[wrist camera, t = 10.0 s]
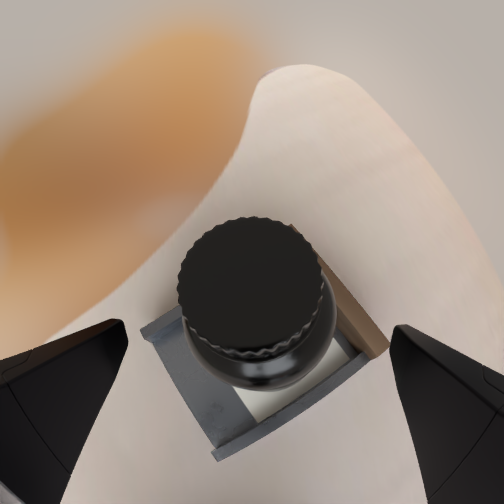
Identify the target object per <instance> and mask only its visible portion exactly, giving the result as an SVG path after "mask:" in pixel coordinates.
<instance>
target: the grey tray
mask: <svg viewBox="0 0 504 504" xmlns="http://www.w3.org/2000/svg"><path fill="white" fill-rule="evenodd" d="M289 226H291V227H292V228H293V229H294V230H295V232H298V231H297V229H296V228H295V227H294V226H293V225H292V224H290V225H289ZM298 233H299V232H298ZM312 250H313V251H314V252H315V253H316V251H315V250H314V249H313V248H312ZM316 254H317V253H316ZM317 255H318V254H317ZM318 263H319V264H320V266H321V267H322V271H323V272H324V274H325V275H326V277H327V278H328V280H329V282H330V284H331V287H332V289H333V292H334V296H335V300H336V306H337V322H336V328H335V332H334V336H333V339H332V341H331V344H330V346H329V348H328V350H327V352H326V353H325V355H324V357H323V358H322V359H321V361H320V362H319V363H318V364H317V366H316V367H315V368H314V369H313V370H312V371H311V372H309V373H308V374H307V375H306V376H305V377H304V378H303V379H302V380H300V381H299V382H298V383H296V384H295V385H293V386H291V387H289V388H286V389H284V390H280V391H275V392H258V391H251V390H245V389H241V388H237V387H234V386H231V385H228V384H226V383H224V382H222V381H220V380H218V379H217V378H215V377H214V376H212V375H211V374H210V373H208V372H207V371H206V370H205V369H204V368H203V367H202V366H201V365H200V364H199V363H198V361H197V360H196V359H195V357H194V356H193V354H192V352H191V351H190V349H189V347H188V344H187V342H186V339H185V335H184V331H183V325H182V307H181V306H180V305H179V306H177V307H175V308H174V309H172V310H171V311H169V312H167V313H166V314H164V315H163V316H161V317H159V318H158V319H156V320H155V321H153V322H151V323H150V324H148V325H147V326H145V327H143V328H142V329H140V332H141V334H142V336H143V338H144V339H145V340H147V341H149V342H151V343H153V345H154V347H155V349H156V351H157V353H158V355H159V357H160V359H161V360H162V362H163V364H164V366H165V368H166V370H167V371H168V373H169V375H170V377H171V378H172V380H173V382H174V384H175V385H176V387H177V389H178V391H179V392H180V394H181V396H182V397H183V399H184V401H185V402H186V404H187V406H188V407H189V409H190V410H191V412H192V414H193V415H194V417H195V418H196V420H197V421H198V423H199V425H200V426H201V428H202V429H203V431H204V432H205V434H206V435H207V437H208V438H209V440H210V441H211V443H212V444H213V445H214V447H215V448H216V449H214V450H213V451H212V452H211V453H212V455H213V456H214V458H215V459H216V460H217V462H219V461H221V460H223V459H225V458H227V457H228V456H230V455H232V454H234V453H236V452H238V451H240V450H242V449H243V448H245V447H247V446H249V445H250V444H252V443H254V442H256V441H257V440H259V439H261V438H263V437H264V436H266V435H268V434H269V433H271V432H272V431H274V430H276V429H277V428H279V427H281V426H282V425H284V424H285V423H287V422H288V421H290V420H291V419H293V418H294V417H296V416H297V415H299V414H300V413H302V412H303V411H305V410H306V409H308V408H309V407H311V406H312V405H314V404H315V403H316V402H318V401H319V400H321V399H322V398H323V397H325V396H326V395H327V394H329V393H330V392H331V391H333V390H334V389H335V388H337V387H338V386H339V385H341V384H342V383H343V382H345V381H346V380H347V379H348V378H350V377H351V376H352V375H353V374H355V373H356V372H357V371H358V370H360V369H361V368H362V367H363V366H364V365H366V364H367V363H368V362H369V361H370V360H372V359H375V358H377V357H378V356H380V355H381V354H382V353H383V352H384V351H385V350H386V349H388V348H389V347H390V342H389V341H388V340H387V338H386V337H385V336H384V334H383V333H382V332H381V331H380V329H379V328H378V327H377V325H376V324H375V323H374V322H373V320H372V319H371V318H370V317H369V315H368V314H367V313H366V312H365V310H364V309H363V308H362V307H361V305H360V304H359V303H358V302H357V301H356V299H355V298H354V297H353V296H352V294H351V293H350V292H349V291H348V290H347V288H346V287H345V286H344V285H343V283H342V282H341V281H340V280H339V279H338V277H337V276H336V275H335V274H334V273H333V271H332V270H331V269H330V268H329V267H328V265H327V264H326V263H325V262H324V261H323V260H322V258H321V257H320V256H319V255H318Z"/></svg>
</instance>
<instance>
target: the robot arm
mask: <svg viewBox="0 0 504 504" xmlns="http://www.w3.org/2000/svg"><path fill="white" fill-rule="evenodd" d="M127 347H128V337H127V333H126V330H125V326H124V322H123V321H122V320H121V319H113V318H112V319H109V320H106V321H103V322H101V323H98V324H96V325H93V326H91V327H88V328H85V329H83V330H80V331H78V332H75V333H73V334H70V335H67V336H65V337H62V338H60V339H57V340H54V341H52V342H49V343H47V344H44V345H41V346H39V347H36V348H34V349H33V350H32V349H31V350H28V351H26V352H23V353H20V354H17V355H15V356H12V357H9V358H6V359H3V360H0V504H60V502H61V500H62V497H63V494H64V492H65V489H66V487H67V484H68V482H69V480H70V477H71V474H72V472H73V470H74V467H75V465H76V462H77V460H78V458H79V455H80V453H81V451H82V449H83V446H84V444H85V442H86V440H87V437H88V435H89V433H90V431H91V429H92V427H93V424H94V422H95V420H96V418H97V416H98V414H99V412H100V410H101V407H102V405H103V403H104V401H105V399H106V397H107V395H108V393H109V391H110V389H111V387H112V385H113V383H114V381H115V378H116V376H117V373H118V371H119V368H120V365H121V363H122V360H123V357H124V355H125V352H126V350H127ZM389 353H390V357H391V362H392V367H393V371H394V376H395V381H396V386H397V390H398V394H399V397H400V400H401V403H402V406H403V410H404V413H405V416H406V419H407V423H408V426H409V429H410V433H411V436H412V440H413V444H414V447H415V451H416V455H417V459H418V463H419V467H420V471H421V475H422V479H423V483H424V488H425V492H426V497H427V500H428V501H427V503H428V504H504V375H502V374H500V373H498V372H496V371H494V370H492V369H490V368H488V367H486V366H485V365H483V366H482V364H481V363H479V362H477V361H475V360H473V359H471V358H470V357H468V356H466V355H464V354H462V353H460V352H458V351H456V350H454V349H453V348H451V347H449V346H447V345H445V344H443V343H441V342H439V341H438V340H436V339H434V338H432V337H430V336H428V335H426V334H424V333H422V332H421V331H419V330H417V329H415V328H413V327H411V326H409V325H407V324H404V325H396V326H395V327H394V330H393V334H392V339H391V343H390V348H389Z"/></svg>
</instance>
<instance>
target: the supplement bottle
mask: <svg viewBox="0 0 504 504" xmlns="http://www.w3.org/2000/svg"><path fill="white" fill-rule="evenodd" d="M178 280H179V283H178V285H177V292H178V294H179V297H178V303H179V305H180V306H181V307H182V325H183V331H184V335H185V339H186V342H187V344H188V347H189V349H190V351H191V352H192V354H193V356H194V357H195V359H196V360H197V361H198V363H199V364H200V365H201V366H202V367H203V368H204V369H205V370H206V371H207V372H208V373H210V374H211V375H212V376H214V377H215V378H217V379H218V380H220V381H222V382H224V383H226V384H228V385H231V386H234V387H237V388H241V389H245V390H251V391H258V392H275V391H280V390H284V389H286V388H289V387H291V386H293V385H295V384H296V383H298V382H299V381H300V380H302V379H303V378H304V377H305V376H306V375H307V374H308V373H309V372H311V371H312V370H313V369H314V368H315V367H316V366H317V364H318V363H319V362H320V361H321V359H322V358H323V357H324V355H325V353H326V352H327V350H328V348H329V346H330V344H331V341H332V339H333V336H334V332H335V328H336V322H337V306H336V300H335V296H334V292H333V289H332V287H331V284H330V282H329V280H328V278H327V277H326V275H325V274H324V272H323V271H322V267H321V266H320V264H319V263H318V255H317V254H316V253H315V252H314V251H313V250H312V246H311V244H310V243H309V242H307V241H306V240H305V239H304V237H303V235H302V234H300V233H298V232H295V230H294V229H293V228H292V227H291V226H287V225H284V224H283V223H282V222H280V221H272V220H271V219H269V218H258V217H255V216H253V217H249V218H245V217H240V218H238V219H236V220H228V221H226V222H225V223H224V224H221V225H216V226H215V227H214V228H213V229H212V230H210V231H208V232H205V233H204V235H203V236H202V238H200V239H198V240H197V241H195V243H194V245H193V247H192V248H191V249H190V250H189V251H187V254H186V258H185V259H184V260H183V262H182V263H181V271H180V272H179V274H178Z"/></svg>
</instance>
